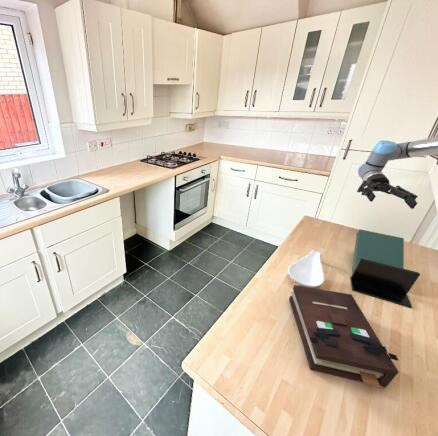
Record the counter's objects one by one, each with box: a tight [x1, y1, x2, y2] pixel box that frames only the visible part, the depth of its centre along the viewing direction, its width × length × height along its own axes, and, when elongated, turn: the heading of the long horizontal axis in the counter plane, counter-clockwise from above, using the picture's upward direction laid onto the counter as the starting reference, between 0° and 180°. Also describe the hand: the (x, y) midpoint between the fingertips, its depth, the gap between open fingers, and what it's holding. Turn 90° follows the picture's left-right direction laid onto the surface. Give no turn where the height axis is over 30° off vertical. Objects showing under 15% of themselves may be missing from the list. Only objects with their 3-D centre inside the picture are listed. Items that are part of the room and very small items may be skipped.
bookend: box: [349, 258, 421, 309], centre depth 86 cm, size 16×8×10 cm, turn 59°
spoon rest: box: [287, 249, 325, 289], centre depth 96 cm, size 24×12×7 cm, turn 138°
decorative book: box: [288, 284, 400, 388], centre depth 71 cm, size 19×8×30 cm
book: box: [351, 228, 405, 273], centre depth 96 cm, size 14×20×3 cm
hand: (393, 202), depth 98 cm, fingers open, 13 cm apart
